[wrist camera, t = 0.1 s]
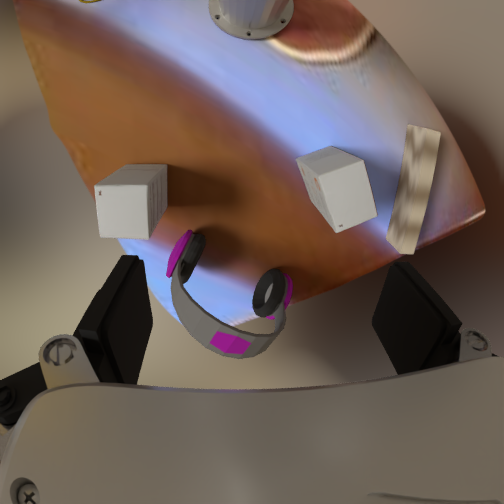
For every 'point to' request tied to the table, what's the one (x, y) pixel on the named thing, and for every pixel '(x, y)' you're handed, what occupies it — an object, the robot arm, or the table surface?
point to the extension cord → (88, 1)
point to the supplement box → (131, 201)
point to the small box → (338, 187)
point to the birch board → (413, 188)
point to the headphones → (209, 327)
